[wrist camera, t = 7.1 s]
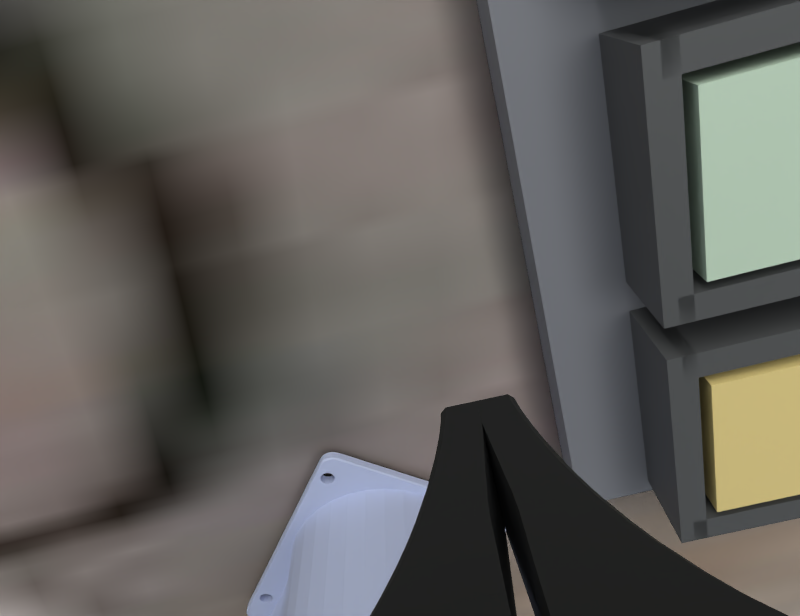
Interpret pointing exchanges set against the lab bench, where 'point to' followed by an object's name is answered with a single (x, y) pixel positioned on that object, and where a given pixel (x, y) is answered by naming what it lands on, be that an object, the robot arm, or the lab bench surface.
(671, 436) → the button panel
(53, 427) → the lab bench surface
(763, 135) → the sage button
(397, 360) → the lab bench surface
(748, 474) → the ochre button
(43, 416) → the lab bench surface
